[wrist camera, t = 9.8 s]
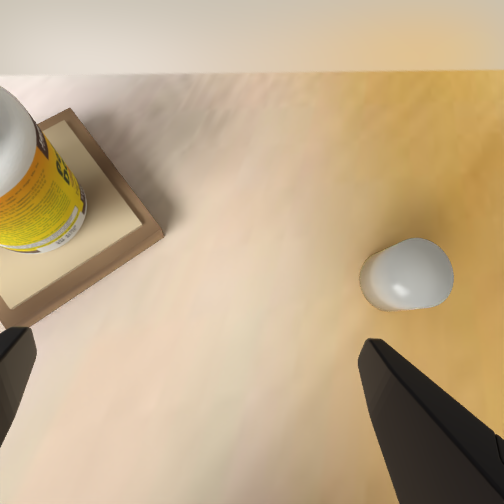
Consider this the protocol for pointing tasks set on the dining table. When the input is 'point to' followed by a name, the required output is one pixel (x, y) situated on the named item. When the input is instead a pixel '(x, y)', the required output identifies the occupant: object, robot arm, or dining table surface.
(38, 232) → the supplement bottle
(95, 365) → the dining table surface
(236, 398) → the dining table surface
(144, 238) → the tan flat square block
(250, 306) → the dining table surface
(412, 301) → the white rounded knob
